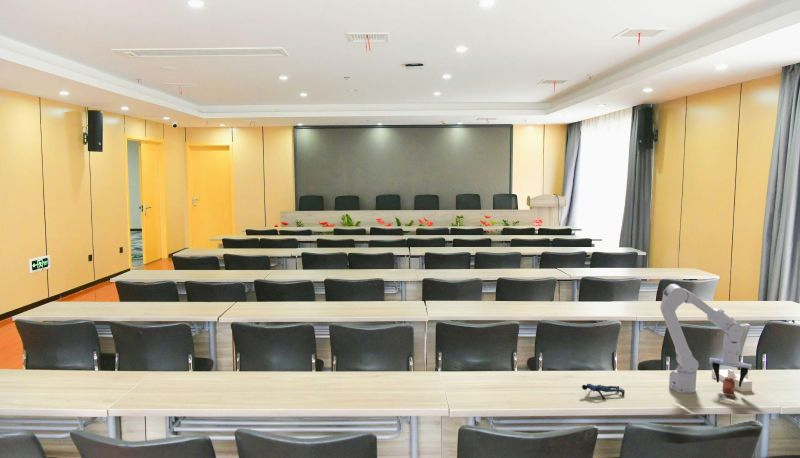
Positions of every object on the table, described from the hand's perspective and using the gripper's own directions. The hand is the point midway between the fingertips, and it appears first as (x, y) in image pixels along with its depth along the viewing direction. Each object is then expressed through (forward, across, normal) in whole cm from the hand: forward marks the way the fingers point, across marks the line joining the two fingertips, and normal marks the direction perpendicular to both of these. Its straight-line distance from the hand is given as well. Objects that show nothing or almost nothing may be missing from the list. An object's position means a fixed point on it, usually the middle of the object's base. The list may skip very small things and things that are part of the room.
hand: (728, 383), depth 224 cm
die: (+5, +4, +8) cm, 10 cm away
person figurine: (+6, -42, -29) cm, 51 cm away
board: (+5, 0, -5) cm, 7 cm away
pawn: (+4, 0, 0) cm, 4 cm away
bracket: (+5, 0, +16) cm, 17 cm away
